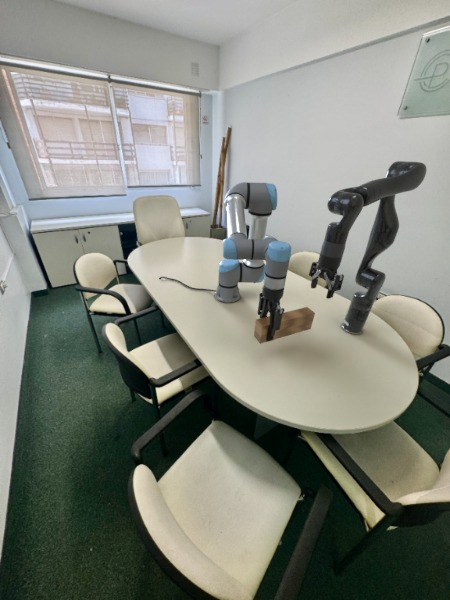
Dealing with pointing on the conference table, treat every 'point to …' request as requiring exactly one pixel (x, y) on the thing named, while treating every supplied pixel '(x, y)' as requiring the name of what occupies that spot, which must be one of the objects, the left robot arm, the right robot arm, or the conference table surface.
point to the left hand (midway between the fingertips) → (265, 335)
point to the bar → (285, 324)
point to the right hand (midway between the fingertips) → (320, 292)
